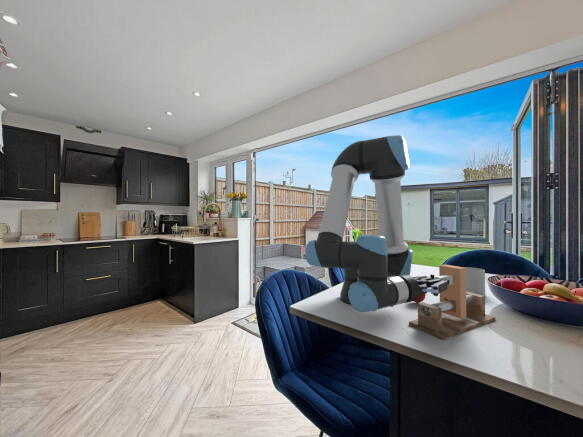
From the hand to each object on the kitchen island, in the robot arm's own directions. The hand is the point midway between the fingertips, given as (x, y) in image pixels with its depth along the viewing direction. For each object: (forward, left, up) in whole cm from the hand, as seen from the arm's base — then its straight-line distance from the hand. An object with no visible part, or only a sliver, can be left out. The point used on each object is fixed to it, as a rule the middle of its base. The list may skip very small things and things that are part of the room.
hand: (450, 279), depth 79 cm
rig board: (-1, +1, -15) cm, 15 cm away
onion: (-19, -1, -15) cm, 24 cm away
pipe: (-1, +1, -10) cm, 10 cm away
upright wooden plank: (-1, +1, -12) cm, 12 cm away
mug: (-31, +29, -15) cm, 45 cm away
